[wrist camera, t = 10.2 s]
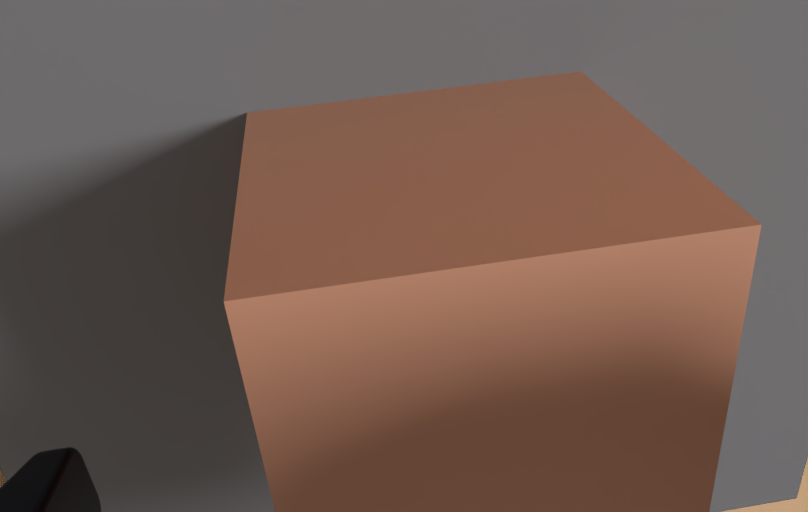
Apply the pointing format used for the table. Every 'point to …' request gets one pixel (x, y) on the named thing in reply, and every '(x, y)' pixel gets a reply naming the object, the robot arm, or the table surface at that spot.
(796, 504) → the table surface
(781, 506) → the table surface
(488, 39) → the gray mat
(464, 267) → the terracotta cube
